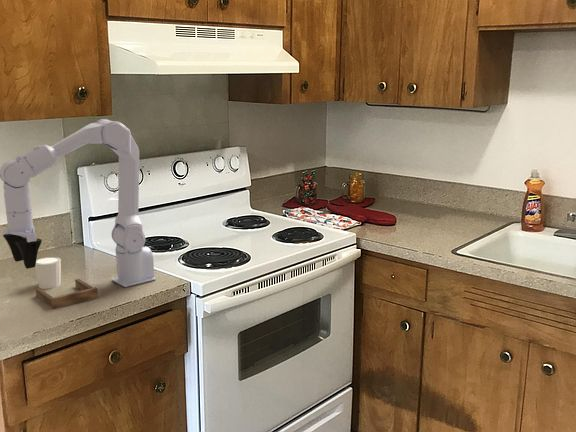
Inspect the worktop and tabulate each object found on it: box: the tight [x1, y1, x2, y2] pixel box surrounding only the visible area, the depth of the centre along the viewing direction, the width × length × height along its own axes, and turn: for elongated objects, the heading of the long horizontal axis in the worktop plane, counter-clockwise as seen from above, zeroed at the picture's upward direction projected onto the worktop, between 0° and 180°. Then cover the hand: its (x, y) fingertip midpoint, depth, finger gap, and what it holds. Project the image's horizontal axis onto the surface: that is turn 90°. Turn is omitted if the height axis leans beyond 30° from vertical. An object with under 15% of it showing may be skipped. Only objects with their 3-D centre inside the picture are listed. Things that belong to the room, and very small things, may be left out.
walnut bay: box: [35, 278, 99, 310], centre depth 160 cm, size 12×12×2 cm
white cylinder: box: [34, 256, 62, 290], centre depth 169 cm, size 7×7×7 cm
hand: (25, 264), depth 155 cm, fingers open, 7 cm apart
